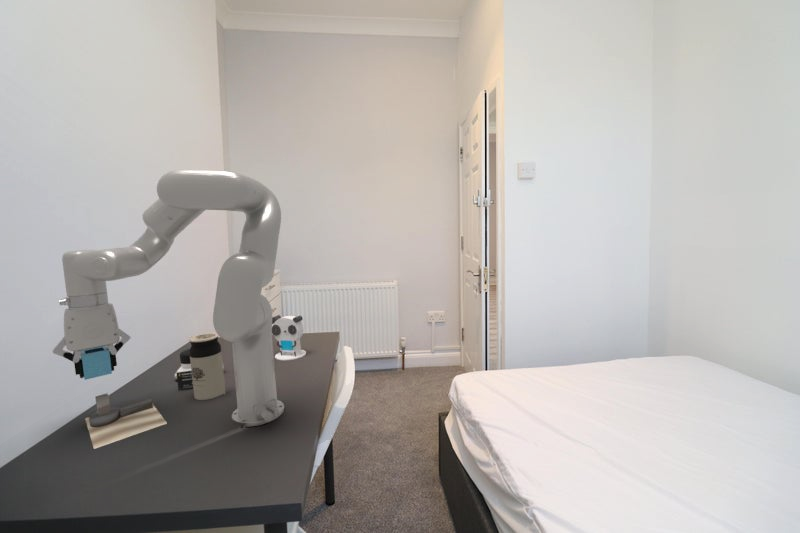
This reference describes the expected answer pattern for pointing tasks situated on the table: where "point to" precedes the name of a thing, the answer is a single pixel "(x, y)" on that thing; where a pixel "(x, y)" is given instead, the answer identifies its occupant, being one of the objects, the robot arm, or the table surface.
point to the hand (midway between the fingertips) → (97, 372)
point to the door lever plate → (121, 421)
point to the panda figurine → (288, 336)
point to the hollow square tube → (96, 362)
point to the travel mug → (206, 366)
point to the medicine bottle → (185, 372)
